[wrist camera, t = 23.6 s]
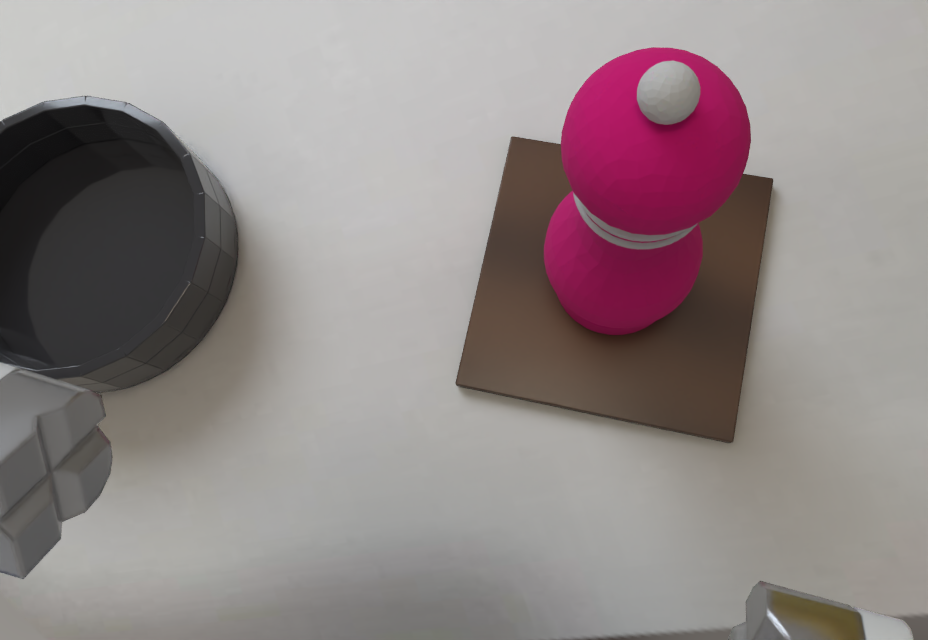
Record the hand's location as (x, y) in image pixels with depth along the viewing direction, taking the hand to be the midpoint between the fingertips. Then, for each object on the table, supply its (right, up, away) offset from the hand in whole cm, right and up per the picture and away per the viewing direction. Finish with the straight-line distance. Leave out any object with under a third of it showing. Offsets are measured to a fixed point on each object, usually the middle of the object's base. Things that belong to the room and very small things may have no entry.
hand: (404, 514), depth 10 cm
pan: (-19, +6, +36) cm, 41 cm away
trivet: (+9, +4, +32) cm, 34 cm away
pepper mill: (+9, +5, +32) cm, 33 cm away
